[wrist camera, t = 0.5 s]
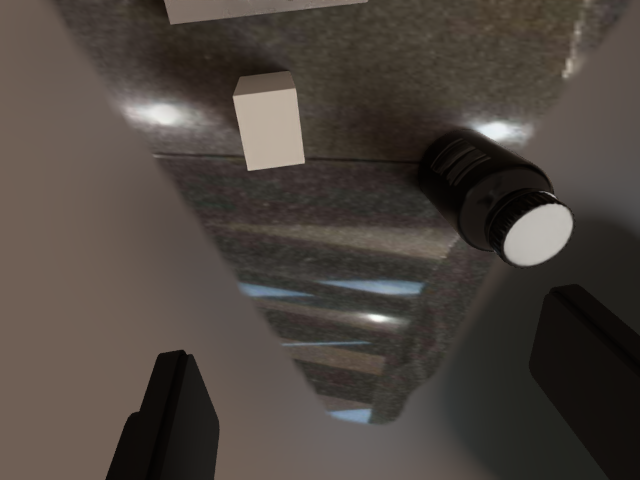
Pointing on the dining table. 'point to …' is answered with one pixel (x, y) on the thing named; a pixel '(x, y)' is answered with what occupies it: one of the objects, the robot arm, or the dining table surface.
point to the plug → (269, 120)
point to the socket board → (238, 8)
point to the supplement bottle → (495, 199)
